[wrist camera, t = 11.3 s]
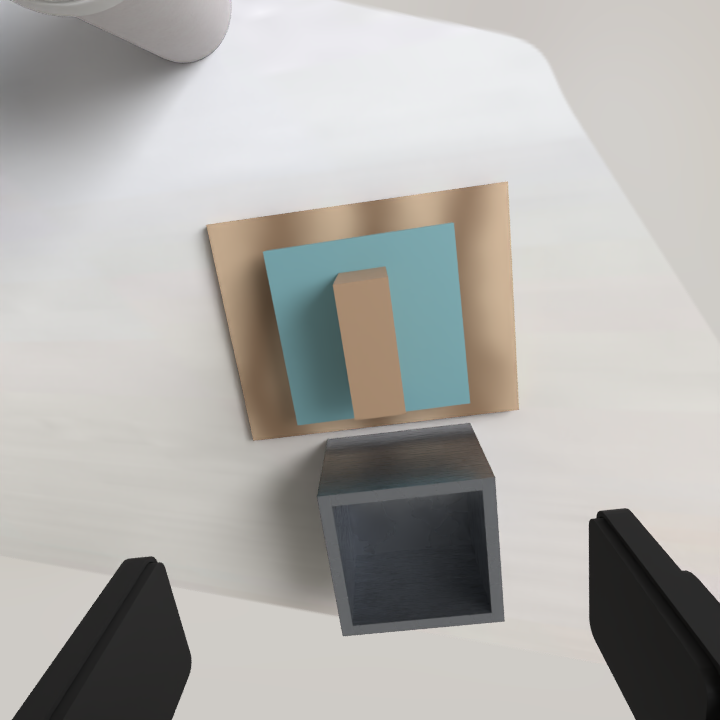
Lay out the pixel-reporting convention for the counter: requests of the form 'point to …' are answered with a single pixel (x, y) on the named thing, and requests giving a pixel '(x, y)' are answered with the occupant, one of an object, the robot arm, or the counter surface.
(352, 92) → the counter surface
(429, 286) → the lid
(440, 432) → the tin
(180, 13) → the coffee cup
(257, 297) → the wooden board
